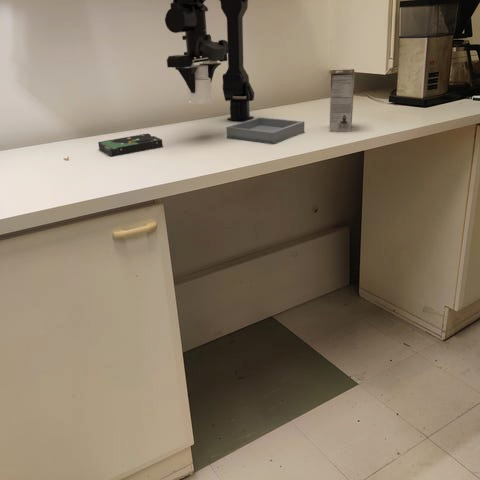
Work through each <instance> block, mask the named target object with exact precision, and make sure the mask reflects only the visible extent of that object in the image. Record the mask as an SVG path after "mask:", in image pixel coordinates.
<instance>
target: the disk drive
mask: <svg viewBox="0 0 480 480" xmlns="http://www.w3.org/2000/svg"><path fill="white" fill-rule="evenodd" d="M97 144H98V149H99V150H100V151H101V152H102V153H104V154H106V155H107V156H109V157H112V158H113V157H119V156H123V155H129V154H135V153H141V152H145V150H146V151H150V150H156V148H157V149H160V148H161V147H162V148H163V147H164V146H163V139H162V138H159V137H157V136H156V135H155V136H154V135H152V134H151V133H143V134H142V133H141V134H137V135H131V136H125V137H119V138H114V139H107V140H104V141H98V142H97Z"/></svg>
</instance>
